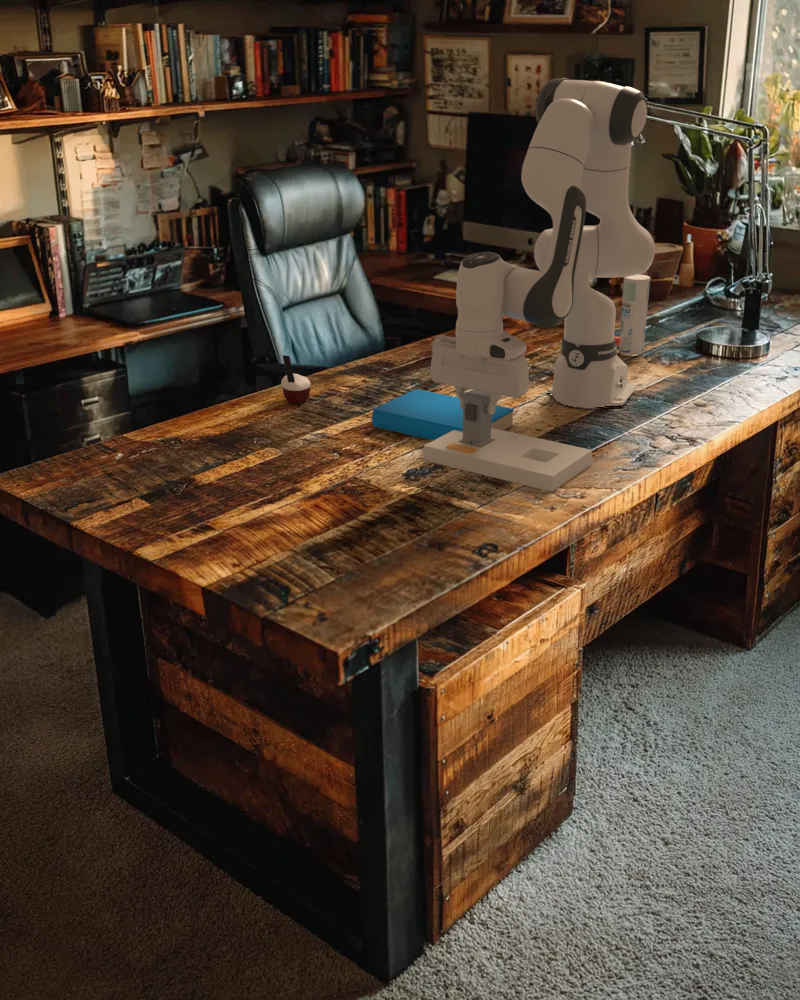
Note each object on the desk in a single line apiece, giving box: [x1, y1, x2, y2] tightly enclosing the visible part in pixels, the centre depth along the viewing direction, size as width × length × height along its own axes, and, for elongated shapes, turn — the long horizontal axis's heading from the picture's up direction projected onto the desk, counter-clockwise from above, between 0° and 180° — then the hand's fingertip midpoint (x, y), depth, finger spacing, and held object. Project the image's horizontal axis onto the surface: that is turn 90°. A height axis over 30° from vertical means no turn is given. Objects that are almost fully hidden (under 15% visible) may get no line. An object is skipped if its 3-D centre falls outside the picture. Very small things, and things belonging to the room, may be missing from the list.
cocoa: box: [280, 354, 312, 405], centre depth 246 cm, size 10×6×12 cm, turn 140°
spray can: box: [618, 274, 651, 355], centre depth 279 cm, size 6×6×20 cm
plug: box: [463, 390, 492, 443], centre depth 211 cm, size 5×4×9 cm
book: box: [371, 388, 515, 445], centre depth 230 cm, size 17×4×25 cm
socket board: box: [423, 428, 593, 493], centre depth 210 cm, size 16×28×4 cm, turn 55°
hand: (477, 411), depth 211 cm, fingers closed on plug, 4 cm apart
